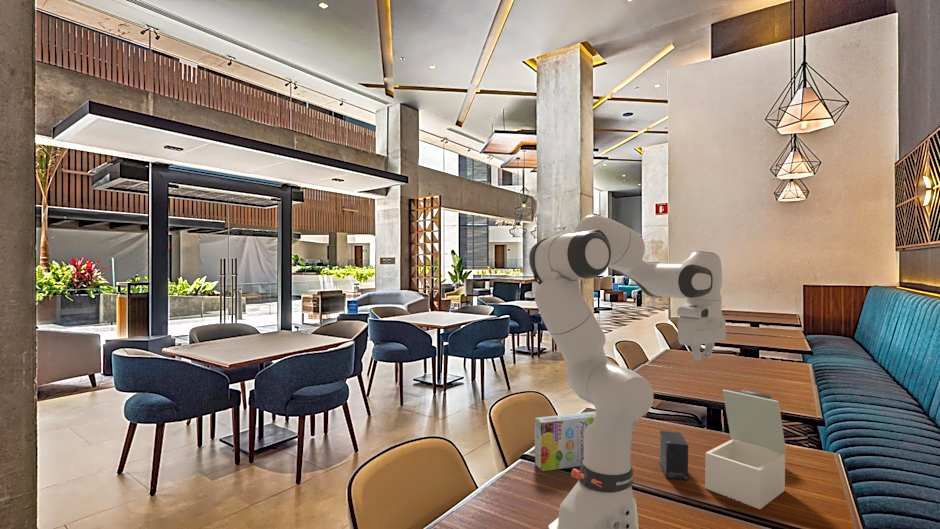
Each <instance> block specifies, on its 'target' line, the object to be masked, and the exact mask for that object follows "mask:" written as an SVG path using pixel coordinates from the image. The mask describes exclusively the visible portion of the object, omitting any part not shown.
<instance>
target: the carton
mask: <svg viewBox="0 0 940 529" xmlns="http://www.w3.org/2000/svg"><path fill="white" fill-rule="evenodd" d="M704 456H705V457H704V460H705V461H704V462H705V463H704V464H705V465H704V466H705V467H704V468H705V469H704V471H705V473H704V476H705V477H704V484H705V485H704V488H705V489H706V490H709V491H710V492H713V493H716V494H718V495H722V496H724V497H726V496H727V498H729V499H731V498H732V500H734V499H735V500H734V501H737V502H739V501H740V503H743V504H745V505H747V506H750V507H753V508H756V509H758V510H761V509H763V508H764V507H765V506H766V505H768V504H769V503H770V502H772V501H773V500H774V499H775V498H777V497H779V496H780V495H782V493H784V492H785V490H786V482H785V481H786V454H784V453H780V452H774V451H771V450H768V449H764V448H761V447H757V446H754V445H750V444H747V443H743V442H740V441H736V440H733V439H732V438H730V440H728V441H726V442H723V443H722V444H720V445H718V446H716V447H713V448H712V449H710V450H707V451H706V452H705V454H704Z"/></svg>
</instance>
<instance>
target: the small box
mask: <svg viewBox="0 0 940 529" xmlns="http://www.w3.org/2000/svg"><path fill="white" fill-rule="evenodd" d="M659 434H660V435H659V440H660V441H659V466H660V468H661V470H662V472H663V474H664V477H665V478H666V479H674V480H683V481H685V480H686V481H688V479H689V444H688V442H687V441H686V439H685V438H684V436H683V434H682V433H681V432H678V431H667V430H660V431H659Z"/></svg>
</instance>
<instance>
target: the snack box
mask: <svg viewBox="0 0 940 529" xmlns="http://www.w3.org/2000/svg"><path fill="white" fill-rule="evenodd" d="M595 413H596V411H587V412H577V413H567V414H560V415H559V414H558V415H549V416H539V417H534V418H533V419H534V420H533V422H534V426H533V427H534V465H535V466H536V467H537V468H538V469H539V470H540V471H541V472H546V471H547V472H548V471H554V470H561V469H562V470H563V469H569V468H578V467H581V465H582V462H583V460H584V431H585V429H586V428H587V427H588V426H589V425H590V424H592V423H593V421H594V418H595Z"/></svg>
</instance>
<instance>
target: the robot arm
mask: <svg viewBox="0 0 940 529" xmlns="http://www.w3.org/2000/svg"><path fill="white" fill-rule="evenodd" d="M573 231H574V232H572V233H560V234H557V235H555V236H551V237H546V238H542V239H541V240H539V241H538V242H536V243H534V245H533V246H532V248H531V249H530V251H529V257H528V260H529V266H530V270H531V272H532V274H533V279H534V281H535V282H536V283H537V284H538V286H537V287H536V288H535V292H534V300H535V304H536V308H537V309H538V312H539V315H540V318H541V320H542V322H543V324H544V325H545V328H546V330H547V331H548V333H549V334H550V336H551V338H552V340H553V341H554V343H555V345H556V347H557V348H558V350H559V352H560V354H561V356H562V358H563V360H564V362H565V366H566V369H567V370H566V375H565V377H566V378H565V379H566V383H567V386H568V387H569V388H570V390H571V391H572V392H573V393H575V395H576V396H578V397H579V398H580V399H582V400H583V401H586V402H587V403H590V404H592V405H593V406H594V409H595V412H596V413H595V418H594V421H593V423H592V424H590V425H589V426H588V427H587V428H586V429H585V431H584V460H583V462H582V465H581V466H580V468H579V469H577V468H576V467H573V469H572V471H571V473H570V475H571V477H572V478H574V479H576V480H577V482H576V483H575V484H574V486H573V487H572V489H571V490H570V491H569V493H567V495H566V497H565V498H564V499H563V500H562V502H561V503H560V504H559V510H558V517H557V518H556V519H554V521H552V522H550V523H549V524H548V526H547V529H640V528H639V518H638V507H637V501H636V498H635V497H636V496H635V495H634V492H633V487H632V486H633V483H634V473H633V472H634V471H633V469H634V468H633V466H632V463H631V461H632V456H631V455H632V439H633V432H634V430H635V427H636V424H637V422H638V421H639V420H640V419H641V418H643V417H644V416H646V415H647V413H648V412H649V411H650V409H651V408H652V406H653V402H654V390H653V387H652V385H651V383H650V382H649V380H647V379H646V378H645V377H643V376H642V375H640V374H639V373H638V372H636V371H634V370H632V369H629V368H626V367H624V366H621V365H618V364H615V363H613V362H612V361H611V360H610V359H609V358H608V357H607V356H606V355H607V354H606V352H605V351H604V346H605V345H606V341H607V339H606V336H605V335H606V334H605V333H604V331H603V329H602V328H601V325H600V324H599V322H598V319H597V318H596V317H595V314H594V313H593V311H592V310H591V307H590V306H589V304H588V302H587V301H586V300H585V298H584V296H583V295H582V293H581V288H580V280H584V279H587V280H589V279H593V278H596V277H599V276H600V275H602V274H603V273H605V271H607V269H608V268H610V269H612V270H615V271H616V272H618V273H620V274H621V275H623V276H625V277H626V278H628V279H630V280H631V281H633V282H634V283H635V284H637V286H638V287H639V289H641V291H642V292H643V293H644V294H645V295H647V296H649V297H653V298H656V297H658V298H659V297H660V298H662V297H663V298H675V299H686V302H684V304H682V305H681V306H680V307H678V308H677V311H676V312H677V313H676V315H677V316H678V317H679V318H678V320H677V340H678V343H679V344H680V345H683V346H688V347H690V349H691V352H692V359H693V360H694V361H701V360H703V358H704V359H711V358H712V357H713V356H712V355H713V350H714V347H715V343H717V342H722V341H725V339H726V337H727V326H726V318H725V316H724V315H723V312H722V295H721V294H722V293H721V288H722V285H723V266H722V261H721V258H720V255H718V254H717V253H714V252H710V251H702V250H700V251H699V250H698V251H697V250H696V251H692V252H691V253H690V255H689V257H688V258H687V259H685V260H683V261H680V262H656V261H649V262H646V261H645V260H643V259H644V256H645V251H646V248H645V245H646V244H645V241H644V239H643V238H642V236H641V235H640V234H639V233H637V232H636V231H635V230H634V229H632V228H630V227H628V226H626V225H624V224H623V223H620V222H619V221H616V220H614V219H611V218H609V217H606V216H602V215H598V214H590V215H586V216H583V218H581V220H580V221H578V223H577V224H576V226H575V228H574V230H573ZM701 345H705V346H704V350H703V351H702V353H701V347H702V346H701Z"/></svg>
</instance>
